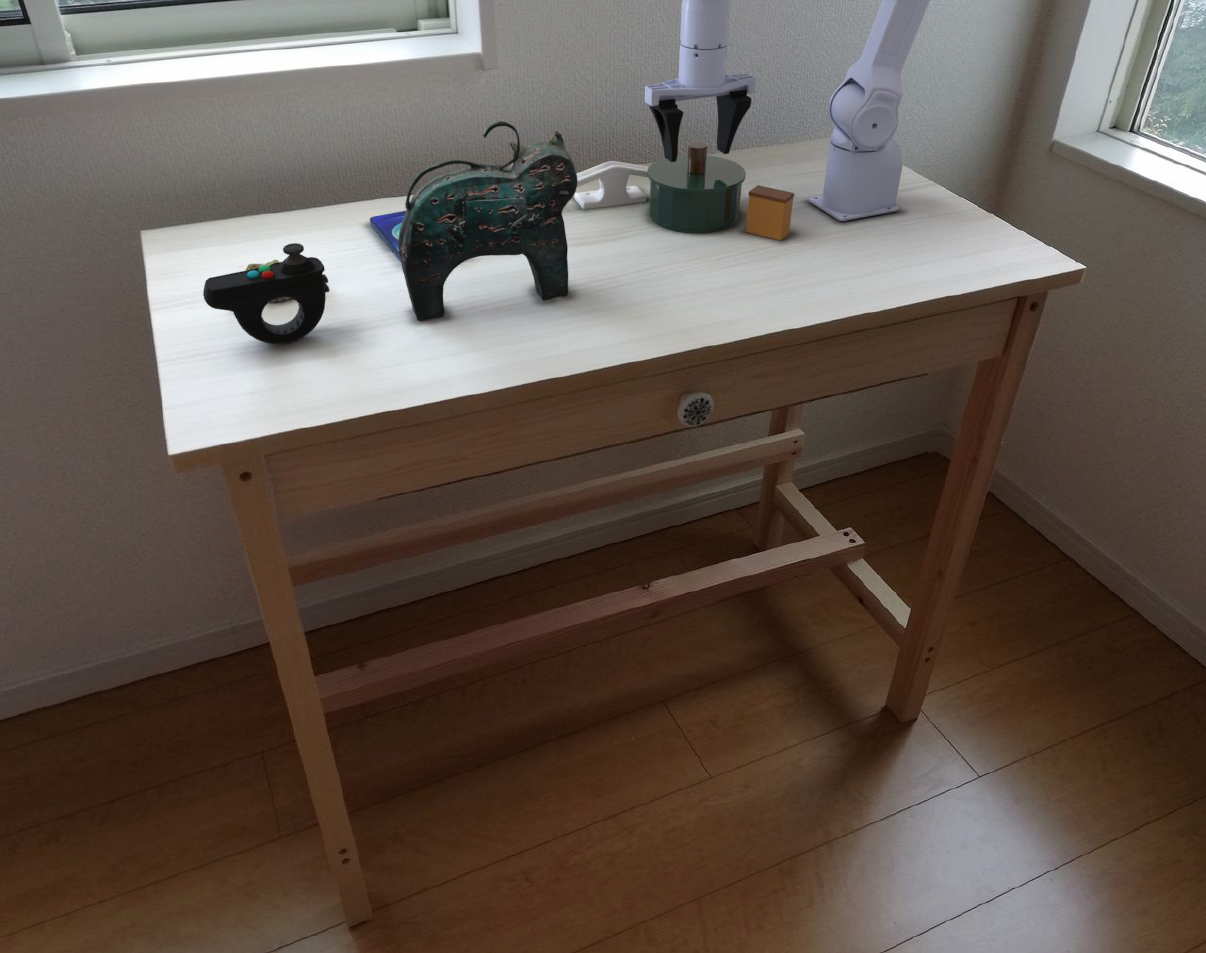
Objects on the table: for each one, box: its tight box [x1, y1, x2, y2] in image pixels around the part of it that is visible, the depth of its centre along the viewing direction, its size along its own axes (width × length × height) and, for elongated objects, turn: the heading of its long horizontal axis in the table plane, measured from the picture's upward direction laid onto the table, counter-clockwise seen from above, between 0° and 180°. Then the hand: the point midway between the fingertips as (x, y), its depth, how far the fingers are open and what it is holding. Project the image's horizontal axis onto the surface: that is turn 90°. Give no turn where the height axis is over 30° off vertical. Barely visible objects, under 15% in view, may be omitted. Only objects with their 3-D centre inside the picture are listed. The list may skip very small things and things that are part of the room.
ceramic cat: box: [398, 120, 578, 321], centre depth 107 cm, size 20×6×20 cm, turn 110°
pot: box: [649, 179, 743, 234], centre depth 132 cm, size 12×12×6 cm
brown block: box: [745, 184, 795, 241], centre depth 127 cm, size 5×3×6 cm, turn 57°
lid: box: [647, 142, 747, 193], centre depth 130 cm, size 13×13×4 cm
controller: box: [202, 242, 330, 345], centre depth 103 cm, size 4×12×10 cm, turn 117°
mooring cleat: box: [573, 160, 649, 210], centre depth 137 cm, size 4×20×5 cm, turn 108°
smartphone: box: [369, 210, 406, 262], centre depth 127 cm, size 8×1×15 cm
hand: (697, 155), depth 129 cm, fingers open, 7 cm apart
